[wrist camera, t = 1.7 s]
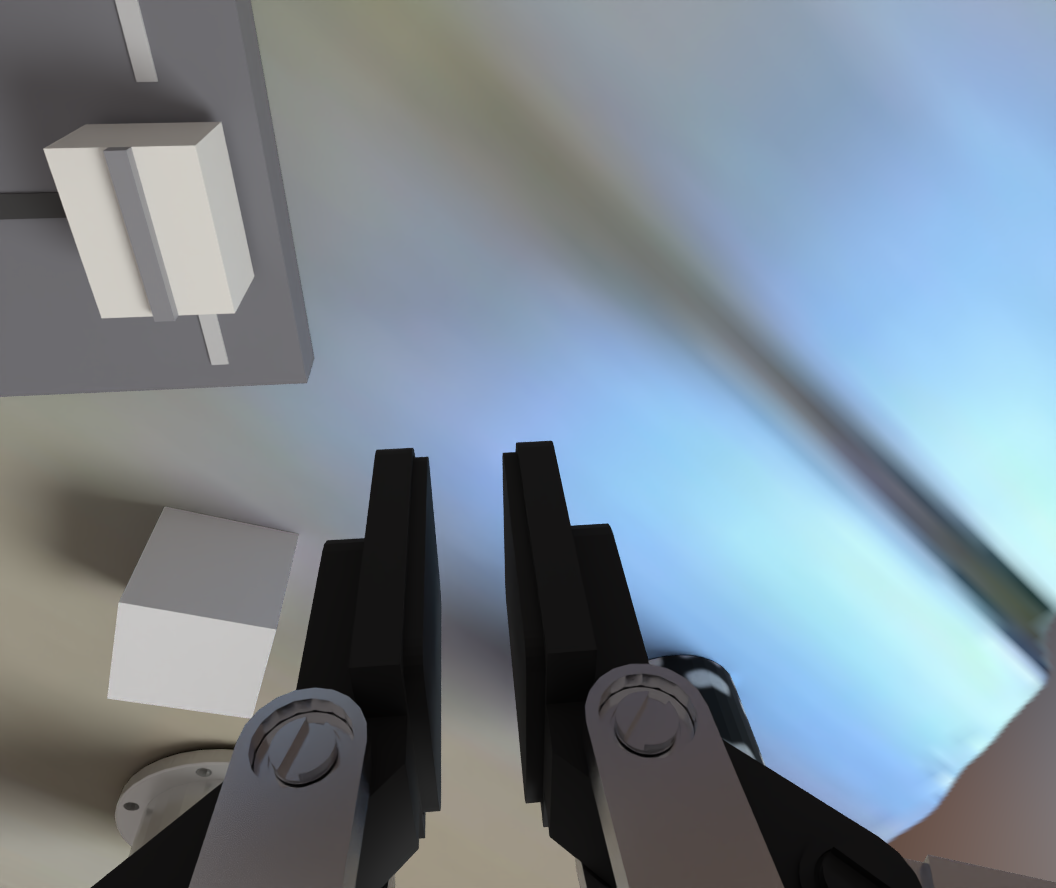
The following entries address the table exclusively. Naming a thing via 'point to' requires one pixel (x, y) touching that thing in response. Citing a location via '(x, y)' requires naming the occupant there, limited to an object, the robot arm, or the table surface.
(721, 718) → the spotted tube
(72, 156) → the fader
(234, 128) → the console
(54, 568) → the table surface
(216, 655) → the white cube
